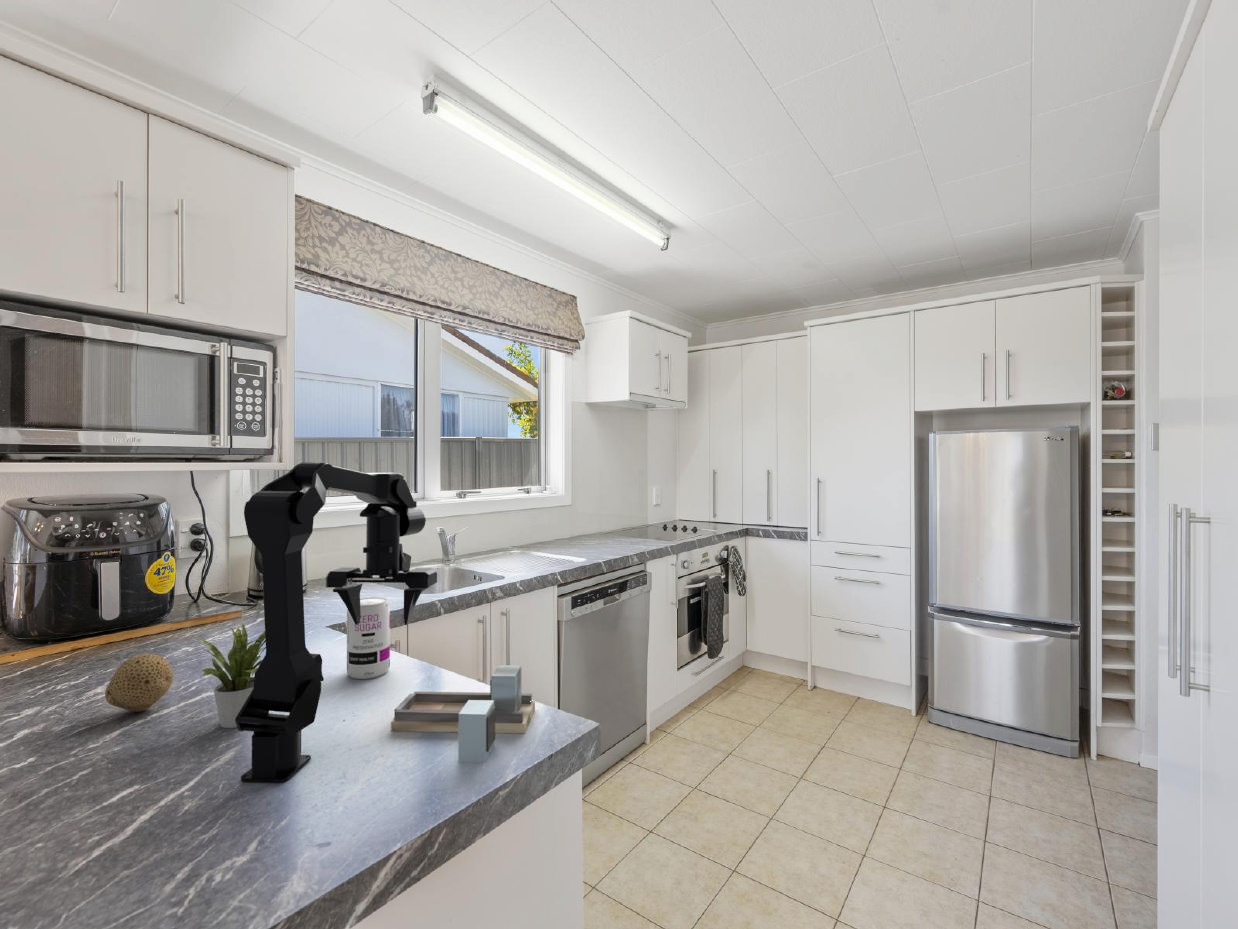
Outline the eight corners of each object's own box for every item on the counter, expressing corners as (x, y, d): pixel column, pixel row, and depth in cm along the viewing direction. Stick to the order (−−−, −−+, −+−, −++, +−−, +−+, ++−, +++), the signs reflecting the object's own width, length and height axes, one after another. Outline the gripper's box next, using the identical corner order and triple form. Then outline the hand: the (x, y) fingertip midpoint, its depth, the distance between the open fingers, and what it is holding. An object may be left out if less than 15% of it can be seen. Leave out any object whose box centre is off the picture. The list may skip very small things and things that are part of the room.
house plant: (310, 715, 99) (311, 621, 99) (222, 749, 87) (222, 642, 87) (265, 698, 107) (266, 610, 107) (178, 727, 95) (179, 629, 95)
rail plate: (524, 733, 93) (524, 681, 93) (391, 731, 94) (391, 679, 94) (534, 709, 102) (534, 662, 102) (412, 707, 103) (412, 660, 103)
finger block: (487, 762, 84) (487, 714, 84) (458, 761, 84) (458, 714, 84) (495, 745, 89) (496, 700, 89) (468, 745, 89) (468, 700, 89)
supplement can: (377, 663, 125) (377, 595, 125) (397, 672, 120) (397, 600, 120) (339, 674, 119) (339, 601, 119) (358, 683, 114) (359, 608, 114)
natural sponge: (182, 709, 102) (182, 653, 102) (117, 728, 94) (117, 667, 94) (162, 697, 107) (163, 644, 107) (100, 714, 100) (100, 657, 100)
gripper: (446, 535, 114) (445, 614, 114) (354, 535, 115) (353, 613, 114) (427, 542, 103) (426, 629, 103) (324, 541, 103) (323, 628, 103)
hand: (382, 624), depth 106 cm, fingers open, 9 cm apart
